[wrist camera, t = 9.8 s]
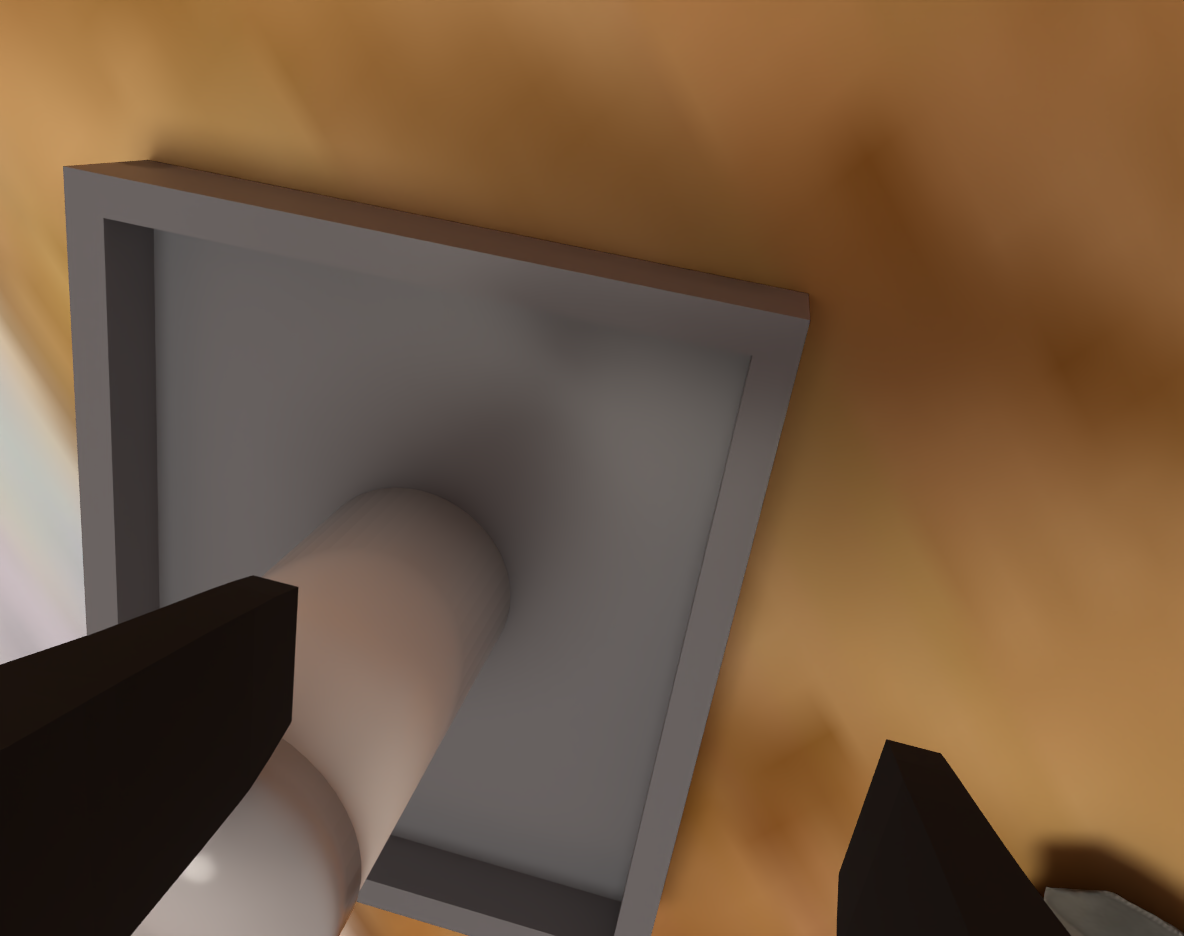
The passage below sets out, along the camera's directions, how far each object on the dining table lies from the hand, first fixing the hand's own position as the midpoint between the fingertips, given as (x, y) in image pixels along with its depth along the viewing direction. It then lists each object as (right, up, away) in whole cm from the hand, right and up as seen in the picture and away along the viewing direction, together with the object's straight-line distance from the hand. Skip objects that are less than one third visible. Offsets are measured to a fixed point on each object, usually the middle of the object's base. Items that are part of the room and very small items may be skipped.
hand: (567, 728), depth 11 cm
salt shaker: (-4, +1, +10) cm, 11 cm away
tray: (-4, +1, +11) cm, 11 cm away
